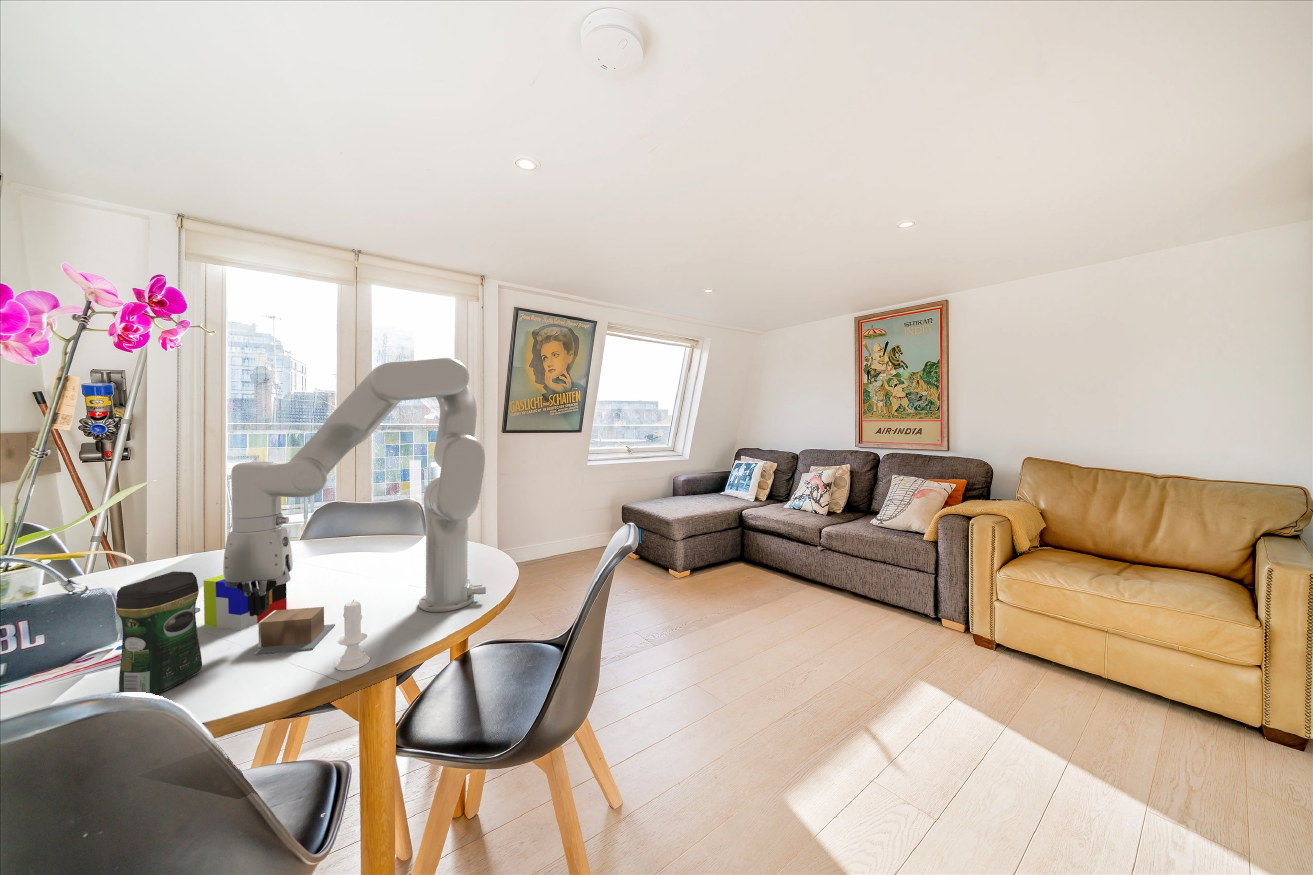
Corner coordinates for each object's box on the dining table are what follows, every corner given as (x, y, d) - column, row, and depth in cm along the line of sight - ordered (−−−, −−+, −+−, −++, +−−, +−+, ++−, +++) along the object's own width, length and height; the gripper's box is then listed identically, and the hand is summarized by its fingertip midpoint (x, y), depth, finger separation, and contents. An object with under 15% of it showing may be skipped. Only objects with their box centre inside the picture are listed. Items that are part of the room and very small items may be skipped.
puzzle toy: (241, 630, 100) (240, 584, 100) (204, 625, 102) (203, 580, 102) (286, 611, 110) (286, 569, 110) (252, 607, 112) (251, 566, 112)
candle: (346, 656, 90) (346, 595, 90) (375, 656, 91) (374, 595, 90) (328, 671, 85) (328, 606, 84) (359, 671, 85) (358, 606, 85)
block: (274, 633, 98) (324, 629, 100) (258, 647, 92) (311, 642, 95) (274, 610, 98) (323, 606, 100) (258, 622, 92) (311, 618, 94)
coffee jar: (170, 667, 85) (168, 566, 85) (211, 669, 85) (209, 568, 84) (105, 698, 76) (101, 585, 75) (151, 701, 75) (148, 587, 74)
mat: (335, 625, 103) (335, 624, 103) (312, 649, 93) (312, 648, 93) (284, 629, 101) (284, 628, 101) (255, 654, 90) (255, 653, 90)
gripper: (309, 518, 99) (310, 603, 100) (224, 520, 96) (226, 609, 96) (291, 526, 92) (292, 617, 93) (199, 529, 88) (201, 624, 89)
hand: (258, 613), depth 95 cm, fingers closed
